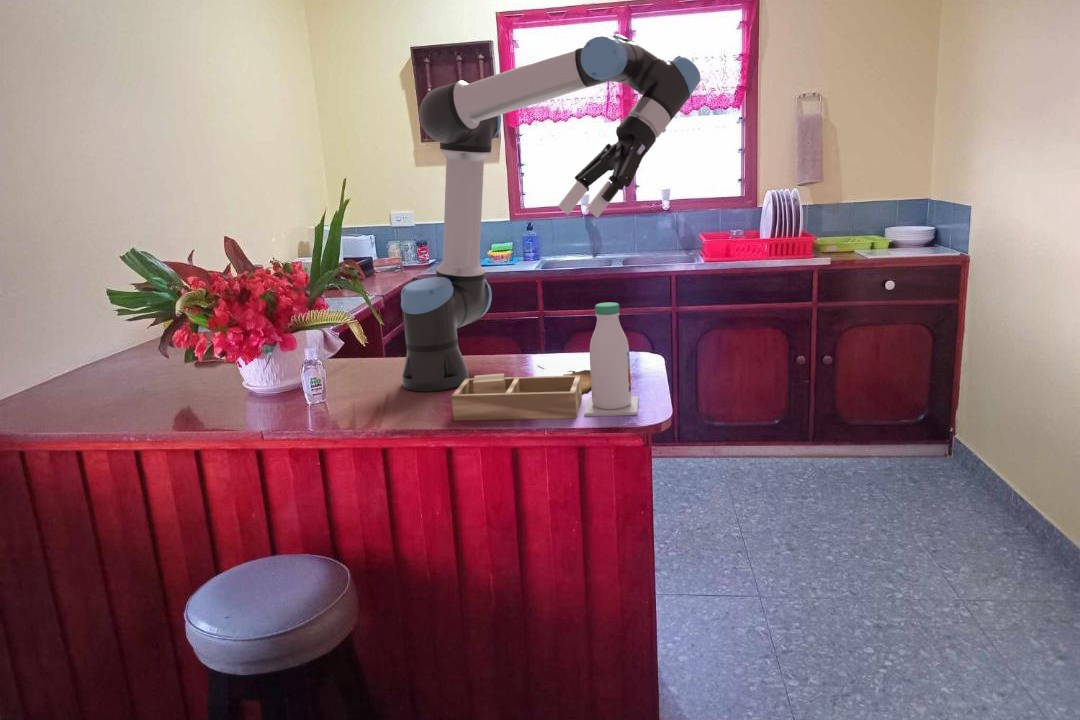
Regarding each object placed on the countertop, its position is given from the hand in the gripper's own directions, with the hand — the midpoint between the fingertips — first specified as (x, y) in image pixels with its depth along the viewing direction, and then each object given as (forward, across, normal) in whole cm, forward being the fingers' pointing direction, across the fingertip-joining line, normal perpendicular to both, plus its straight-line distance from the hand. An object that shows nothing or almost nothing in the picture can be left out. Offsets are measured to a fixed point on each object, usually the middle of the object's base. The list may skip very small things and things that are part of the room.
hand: (577, 211), depth 153 cm
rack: (+37, 0, -16) cm, 41 cm away
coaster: (+26, -10, -27) cm, 39 cm away
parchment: (+27, +8, -27) cm, 39 cm away
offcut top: (+38, +3, -10) cm, 40 cm away
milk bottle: (+26, -9, -27) cm, 38 cm away
